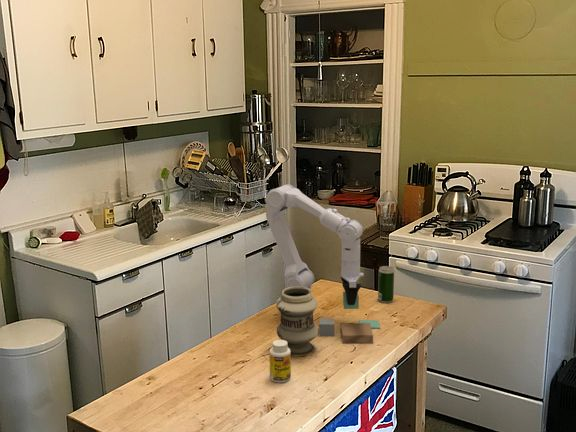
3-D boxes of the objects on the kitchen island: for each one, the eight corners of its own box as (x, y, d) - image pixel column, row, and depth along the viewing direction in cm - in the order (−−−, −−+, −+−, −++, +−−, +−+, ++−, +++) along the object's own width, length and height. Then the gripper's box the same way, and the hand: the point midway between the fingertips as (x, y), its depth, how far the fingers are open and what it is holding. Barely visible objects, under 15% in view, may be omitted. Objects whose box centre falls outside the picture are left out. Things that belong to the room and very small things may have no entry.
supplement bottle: (272, 384, 161) (271, 348, 159) (268, 374, 167) (267, 339, 164) (293, 382, 162) (292, 346, 160) (288, 372, 168) (287, 337, 165)
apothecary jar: (270, 354, 178) (269, 295, 174) (285, 337, 189) (284, 281, 185) (310, 360, 174) (310, 300, 170) (323, 343, 185) (323, 286, 181)
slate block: (319, 336, 190) (319, 324, 189) (318, 330, 194) (319, 318, 193) (334, 336, 190) (334, 324, 189) (333, 330, 194) (333, 318, 193)
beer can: (385, 304, 214) (386, 271, 212) (374, 300, 219) (375, 267, 216) (396, 301, 217) (397, 268, 214) (386, 296, 222) (387, 264, 219)
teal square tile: (361, 328, 195) (361, 327, 195) (359, 321, 201) (359, 320, 201) (380, 328, 195) (380, 327, 195) (377, 321, 201) (377, 319, 201)
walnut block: (342, 344, 185) (342, 335, 184) (340, 332, 194) (340, 323, 193) (372, 344, 185) (373, 335, 184) (369, 332, 193) (369, 323, 193)
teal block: (344, 308, 193) (344, 296, 192) (342, 303, 197) (343, 291, 196) (358, 308, 193) (358, 296, 192) (357, 303, 197) (357, 291, 196)
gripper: (366, 267, 184) (365, 310, 188) (361, 253, 198) (360, 293, 202) (342, 267, 184) (342, 310, 188) (339, 253, 199) (338, 293, 202)
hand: (350, 301), depth 195 cm, fingers closed on teal block, 4 cm apart
